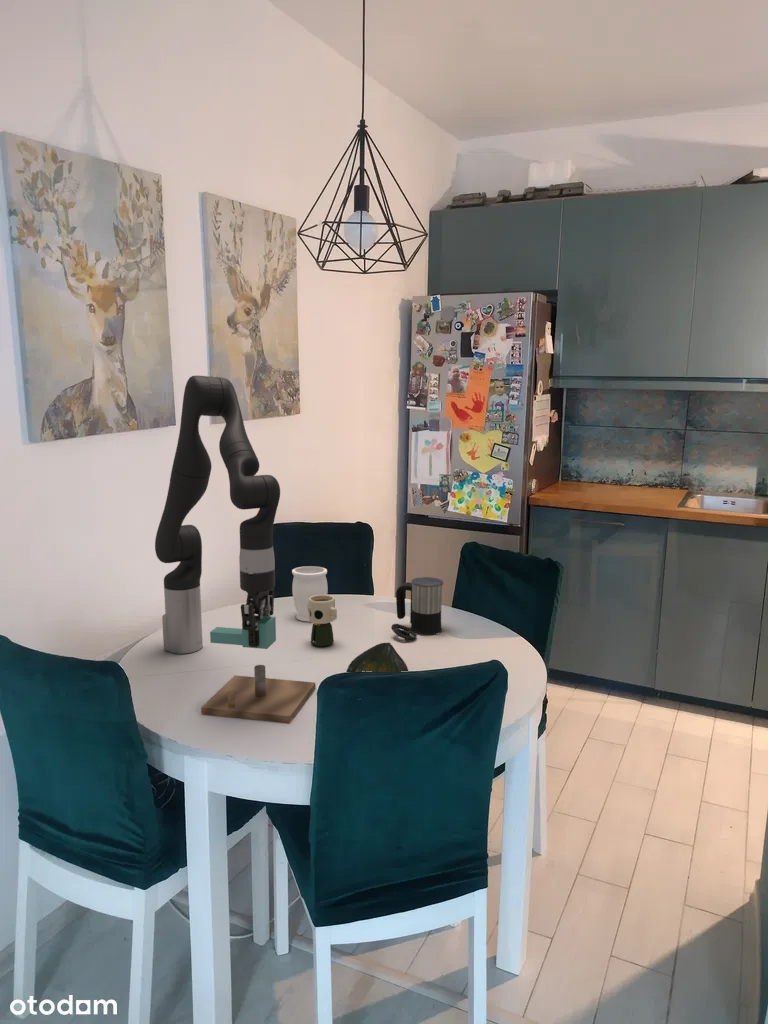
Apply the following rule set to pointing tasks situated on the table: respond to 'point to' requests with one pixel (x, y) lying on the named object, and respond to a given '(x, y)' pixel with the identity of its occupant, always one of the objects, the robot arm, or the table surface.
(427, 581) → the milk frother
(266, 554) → the robot arm
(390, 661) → the squash
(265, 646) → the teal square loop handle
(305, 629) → the table surface
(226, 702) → the base
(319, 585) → the jar
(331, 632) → the character mug
